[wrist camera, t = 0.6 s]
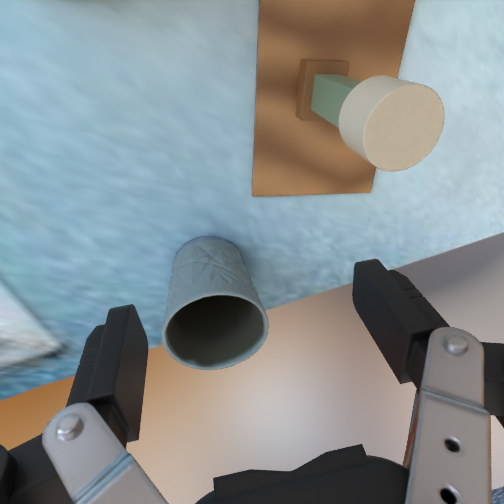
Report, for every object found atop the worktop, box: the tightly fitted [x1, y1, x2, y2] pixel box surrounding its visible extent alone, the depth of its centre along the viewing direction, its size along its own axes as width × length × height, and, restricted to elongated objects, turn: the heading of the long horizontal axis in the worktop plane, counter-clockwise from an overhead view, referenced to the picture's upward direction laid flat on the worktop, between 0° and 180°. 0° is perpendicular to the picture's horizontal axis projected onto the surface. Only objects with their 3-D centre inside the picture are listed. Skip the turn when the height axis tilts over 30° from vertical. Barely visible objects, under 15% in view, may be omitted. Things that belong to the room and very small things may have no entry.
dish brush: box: [296, 59, 444, 171], centre depth 27 cm, size 5×5×16 cm
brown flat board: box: [252, 0, 415, 196], centre depth 35 cm, size 20×14×1 cm
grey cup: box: [162, 236, 268, 370], centre depth 38 cm, size 10×10×12 cm
